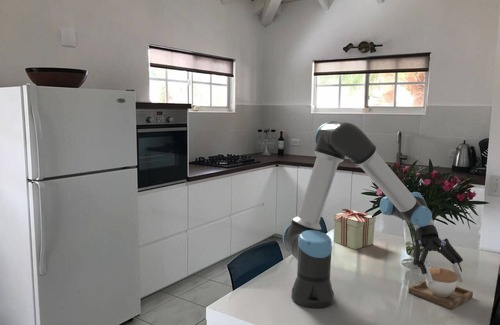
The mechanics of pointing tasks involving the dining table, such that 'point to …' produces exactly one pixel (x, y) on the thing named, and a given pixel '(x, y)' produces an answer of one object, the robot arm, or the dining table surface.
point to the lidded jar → (442, 282)
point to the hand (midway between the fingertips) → (446, 281)
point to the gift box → (354, 229)
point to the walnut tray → (448, 302)
